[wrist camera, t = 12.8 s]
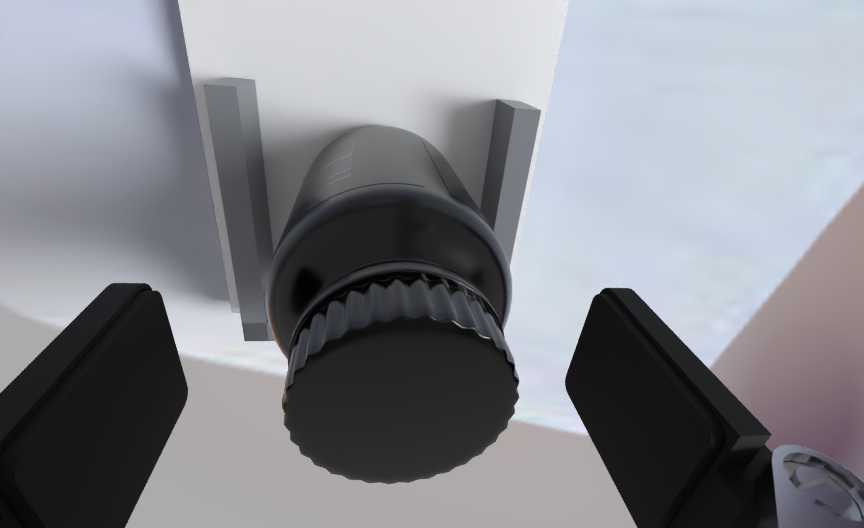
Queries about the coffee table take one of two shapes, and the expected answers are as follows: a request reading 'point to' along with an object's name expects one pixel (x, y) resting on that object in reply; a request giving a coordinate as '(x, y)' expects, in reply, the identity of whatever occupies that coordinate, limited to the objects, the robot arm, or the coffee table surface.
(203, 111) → the cradle tray
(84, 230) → the coffee table surface
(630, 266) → the coffee table surface
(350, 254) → the supplement bottle
